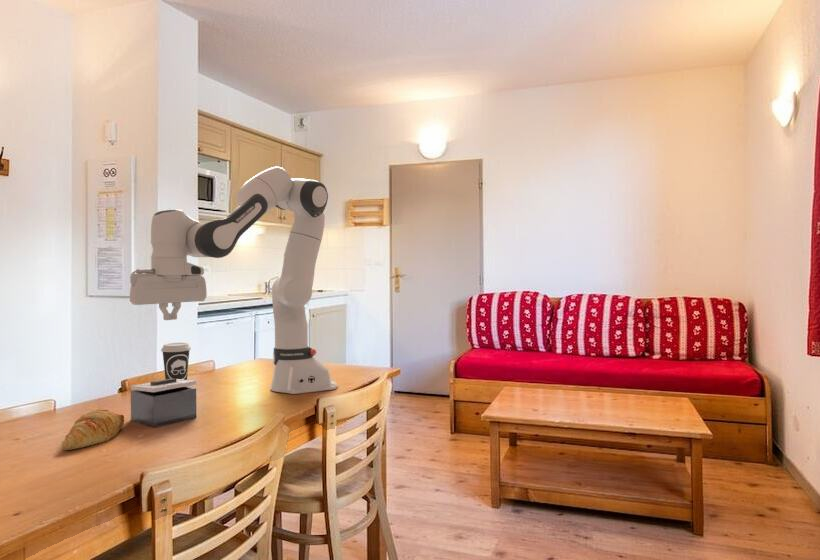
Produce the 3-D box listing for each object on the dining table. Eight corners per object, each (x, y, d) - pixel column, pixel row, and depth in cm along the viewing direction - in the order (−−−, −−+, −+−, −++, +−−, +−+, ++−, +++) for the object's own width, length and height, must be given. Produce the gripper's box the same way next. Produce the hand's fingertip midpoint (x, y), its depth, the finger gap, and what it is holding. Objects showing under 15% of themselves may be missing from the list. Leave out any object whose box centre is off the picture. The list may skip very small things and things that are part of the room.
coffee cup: (196, 384, 190) (195, 342, 189) (182, 390, 180) (181, 346, 180) (170, 383, 190) (170, 342, 190) (155, 389, 181) (155, 345, 181)
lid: (130, 389, 143) (130, 382, 143) (173, 382, 153) (172, 375, 153) (153, 392, 136) (153, 385, 136) (196, 384, 146) (195, 377, 146)
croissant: (76, 469, 117) (92, 438, 117) (37, 448, 117) (52, 416, 117) (131, 437, 138) (144, 410, 138) (97, 419, 139) (110, 392, 138)
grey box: (131, 419, 143) (130, 390, 143) (173, 410, 153) (172, 383, 153) (153, 427, 136) (153, 396, 136) (196, 417, 146) (196, 388, 146)
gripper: (136, 269, 133) (137, 323, 134) (209, 268, 150) (210, 317, 150) (124, 269, 137) (125, 322, 137) (196, 268, 154) (197, 316, 154)
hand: (170, 319), depth 144 cm, fingers closed
